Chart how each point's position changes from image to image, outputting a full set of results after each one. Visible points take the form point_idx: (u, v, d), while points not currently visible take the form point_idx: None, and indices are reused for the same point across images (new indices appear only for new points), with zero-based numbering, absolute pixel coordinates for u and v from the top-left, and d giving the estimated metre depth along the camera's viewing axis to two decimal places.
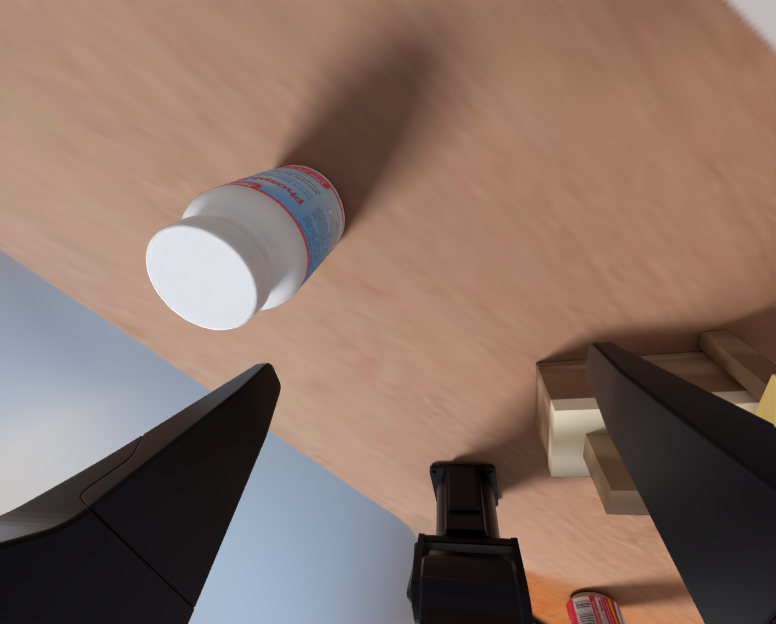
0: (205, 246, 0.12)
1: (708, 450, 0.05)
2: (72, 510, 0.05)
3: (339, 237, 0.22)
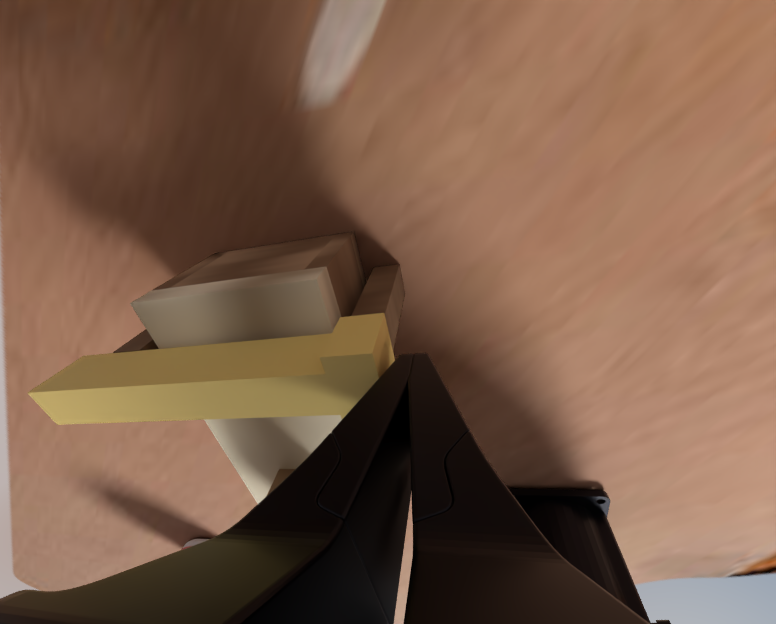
0: None
1: None
2: (323, 522, 0.04)
3: None
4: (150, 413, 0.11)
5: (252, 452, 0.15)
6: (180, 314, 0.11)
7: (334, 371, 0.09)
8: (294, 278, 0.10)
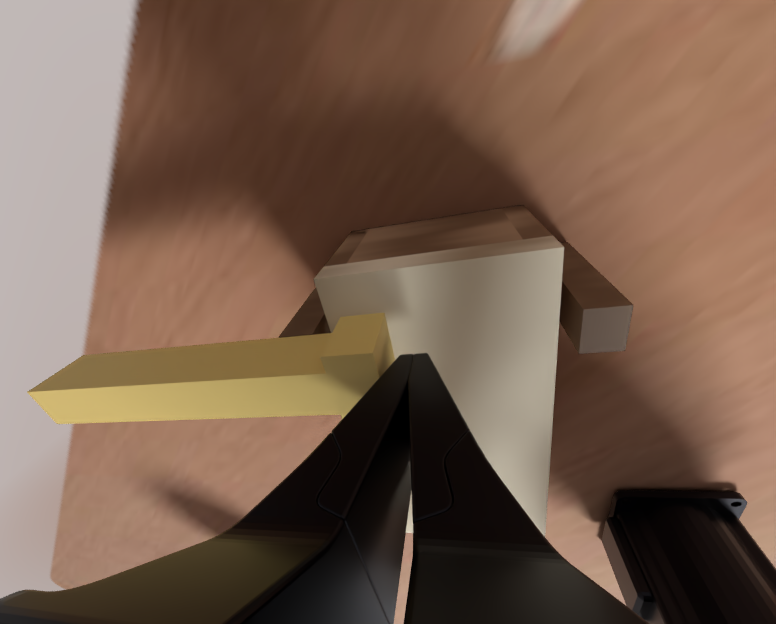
0: None
1: None
2: (323, 522, 0.04)
3: None
4: (150, 412, 0.11)
5: None
6: (372, 292, 0.10)
7: (334, 371, 0.09)
8: (526, 247, 0.09)
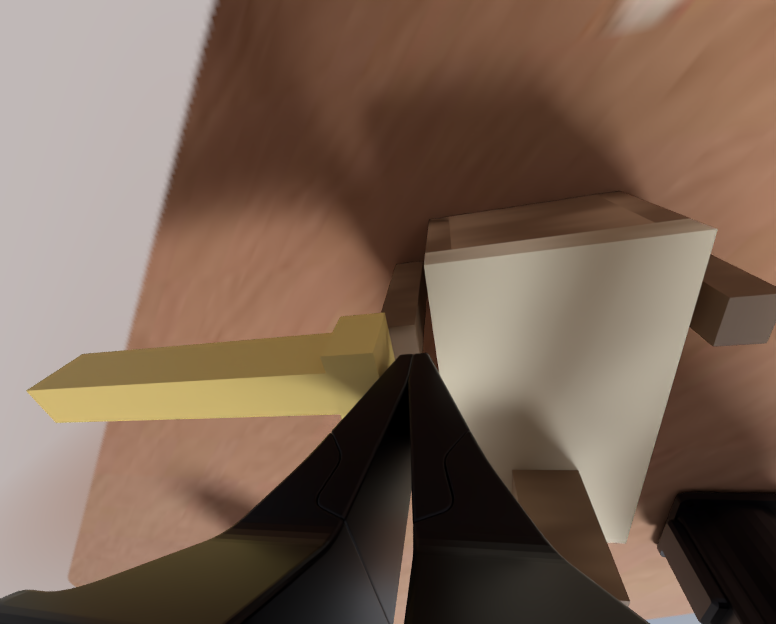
0: None
1: None
2: (323, 521, 0.04)
3: None
4: (149, 411, 0.11)
5: (487, 450, 0.13)
6: (488, 279, 0.09)
7: (334, 370, 0.09)
8: (668, 230, 0.08)
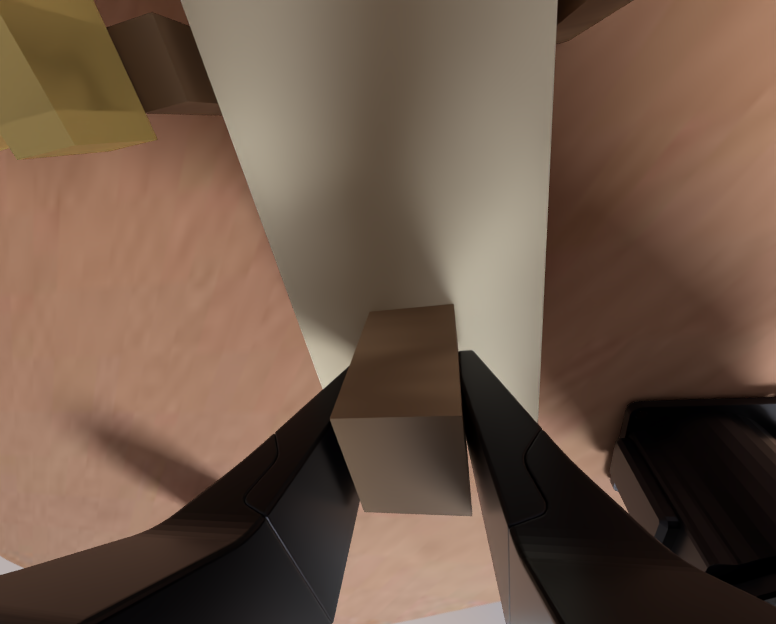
0: None
1: (481, 451, 0.06)
2: (245, 518, 0.05)
3: None
4: None
5: (330, 278, 0.09)
6: None
7: None
8: None
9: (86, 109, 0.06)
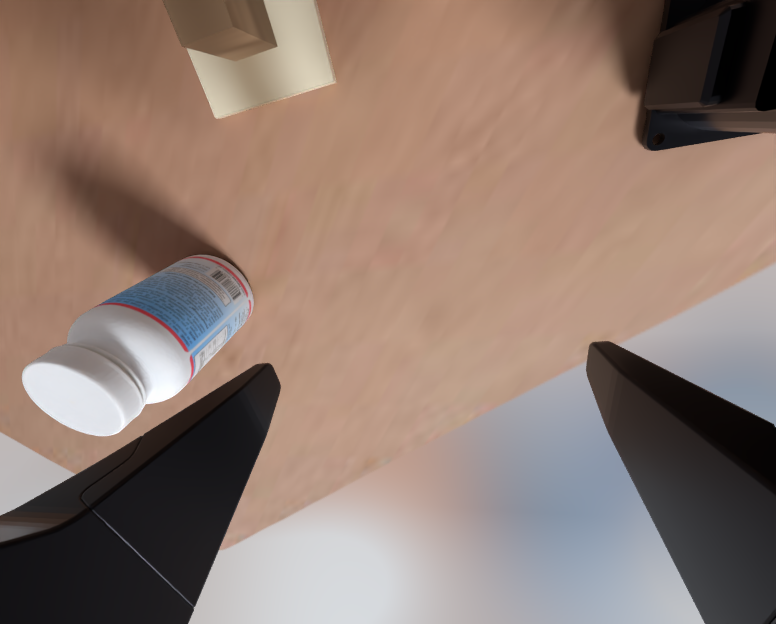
0: (36, 388, 0.15)
1: (708, 450, 0.05)
2: (72, 510, 0.05)
3: (211, 263, 0.22)
4: None
5: None
6: None
7: None
8: None
9: None
